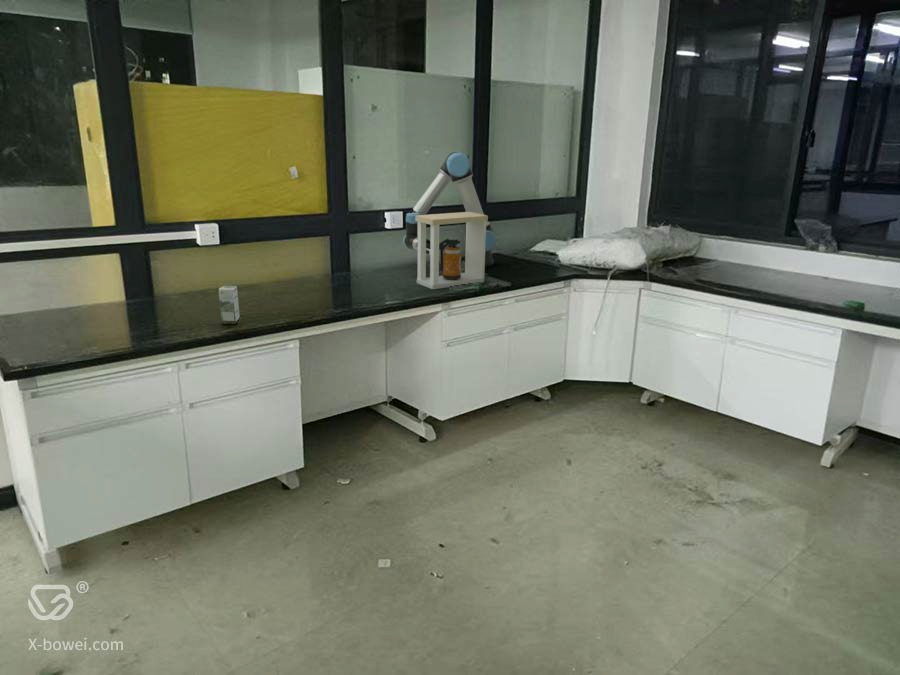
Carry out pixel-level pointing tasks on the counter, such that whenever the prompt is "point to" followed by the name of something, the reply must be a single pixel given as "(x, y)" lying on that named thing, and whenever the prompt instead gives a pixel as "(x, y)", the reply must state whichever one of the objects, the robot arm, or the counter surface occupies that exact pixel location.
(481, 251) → the under-counter shelf
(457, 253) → the canister
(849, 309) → the counter surface
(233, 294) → the syrup box
